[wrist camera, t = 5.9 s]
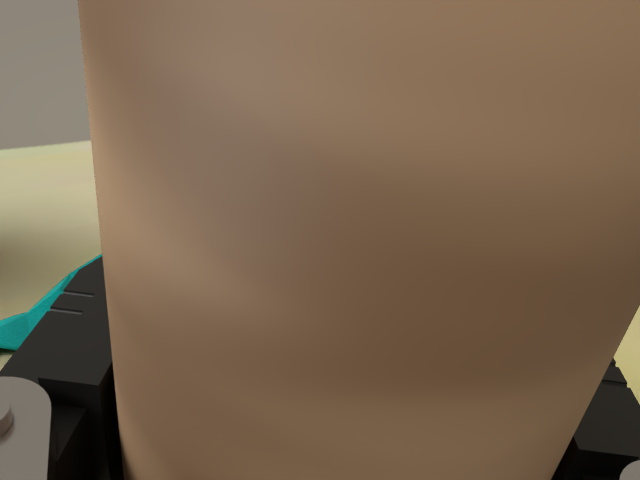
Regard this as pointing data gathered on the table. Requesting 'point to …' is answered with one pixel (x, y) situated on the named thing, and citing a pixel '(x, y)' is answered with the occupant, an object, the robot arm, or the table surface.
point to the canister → (362, 230)
